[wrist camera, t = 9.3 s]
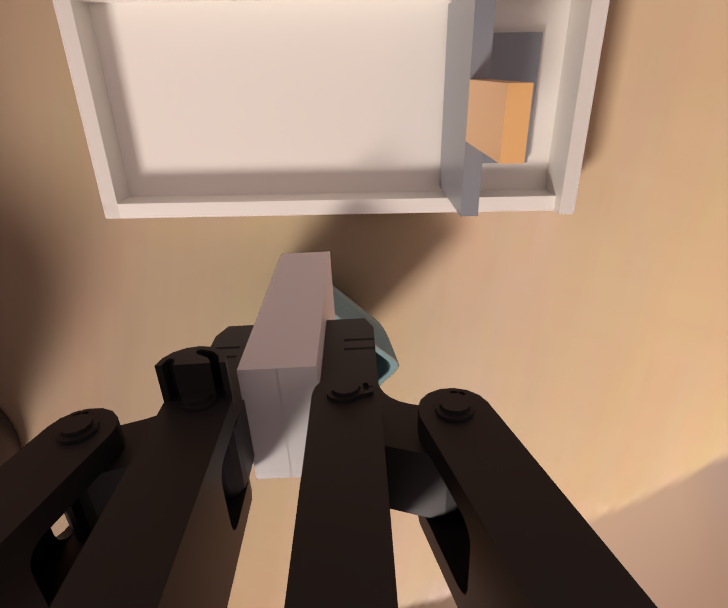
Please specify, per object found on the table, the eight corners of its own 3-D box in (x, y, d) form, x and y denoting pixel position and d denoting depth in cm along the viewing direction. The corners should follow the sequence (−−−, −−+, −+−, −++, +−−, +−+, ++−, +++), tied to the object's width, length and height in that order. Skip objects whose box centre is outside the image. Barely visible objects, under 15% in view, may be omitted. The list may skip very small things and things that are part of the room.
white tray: (124, 207, 37) (99, 222, 33) (74, -14, 31) (36, -25, 27) (552, 199, 37) (573, 213, 34) (585, -22, 31) (615, -34, 28)
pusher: (439, 186, 35) (490, 258, 22) (448, 4, 31) (520, -47, 17) (522, 184, 36) (625, 256, 22) (544, 2, 31) (693, -50, 17)
